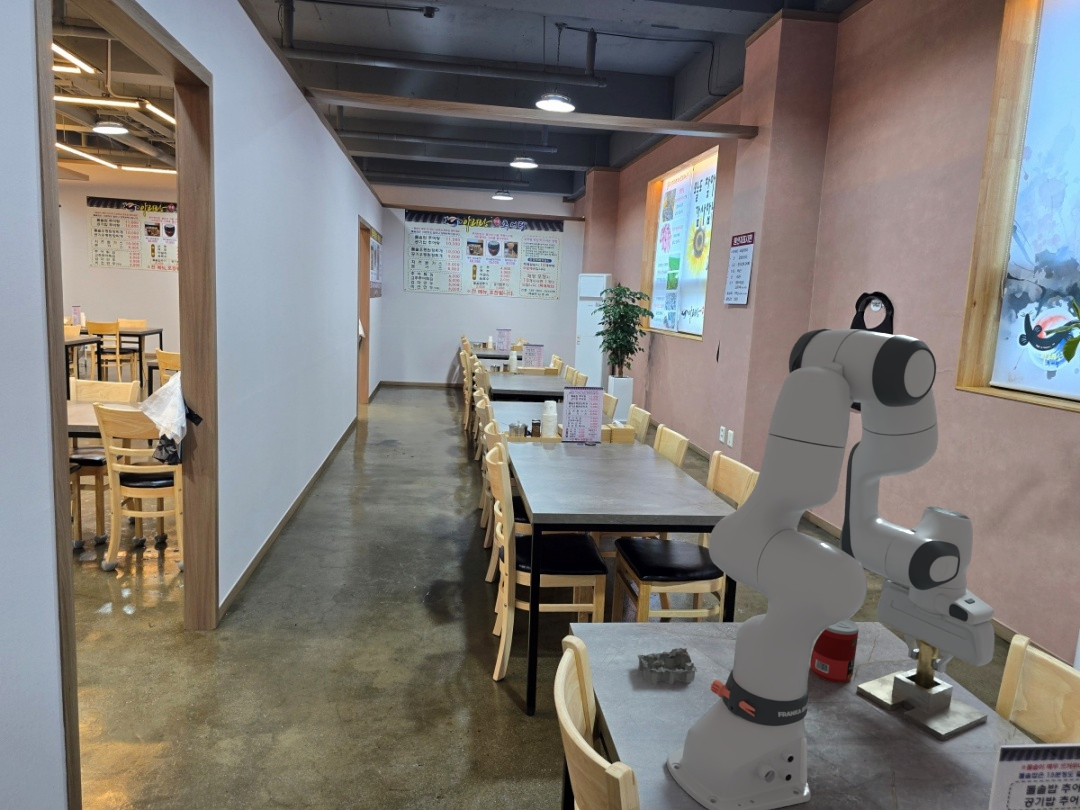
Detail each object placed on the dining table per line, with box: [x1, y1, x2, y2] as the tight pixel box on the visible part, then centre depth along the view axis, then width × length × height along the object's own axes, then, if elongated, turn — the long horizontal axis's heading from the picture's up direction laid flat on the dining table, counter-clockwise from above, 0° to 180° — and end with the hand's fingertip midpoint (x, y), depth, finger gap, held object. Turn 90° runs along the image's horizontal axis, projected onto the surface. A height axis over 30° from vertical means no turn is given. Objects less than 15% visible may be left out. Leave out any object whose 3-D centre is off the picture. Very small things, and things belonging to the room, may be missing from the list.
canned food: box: [810, 618, 860, 684], centre depth 138 cm, size 8×8×11 cm
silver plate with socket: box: [856, 667, 988, 742], centre depth 128 cm, size 14×17×5 cm
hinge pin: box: [915, 639, 939, 687], centre depth 127 cm, size 4×4×9 cm
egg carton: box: [637, 647, 698, 685], centre depth 135 cm, size 11×8×4 cm
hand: (926, 664), depth 127 cm, fingers closed on hinge pin, 3 cm apart
